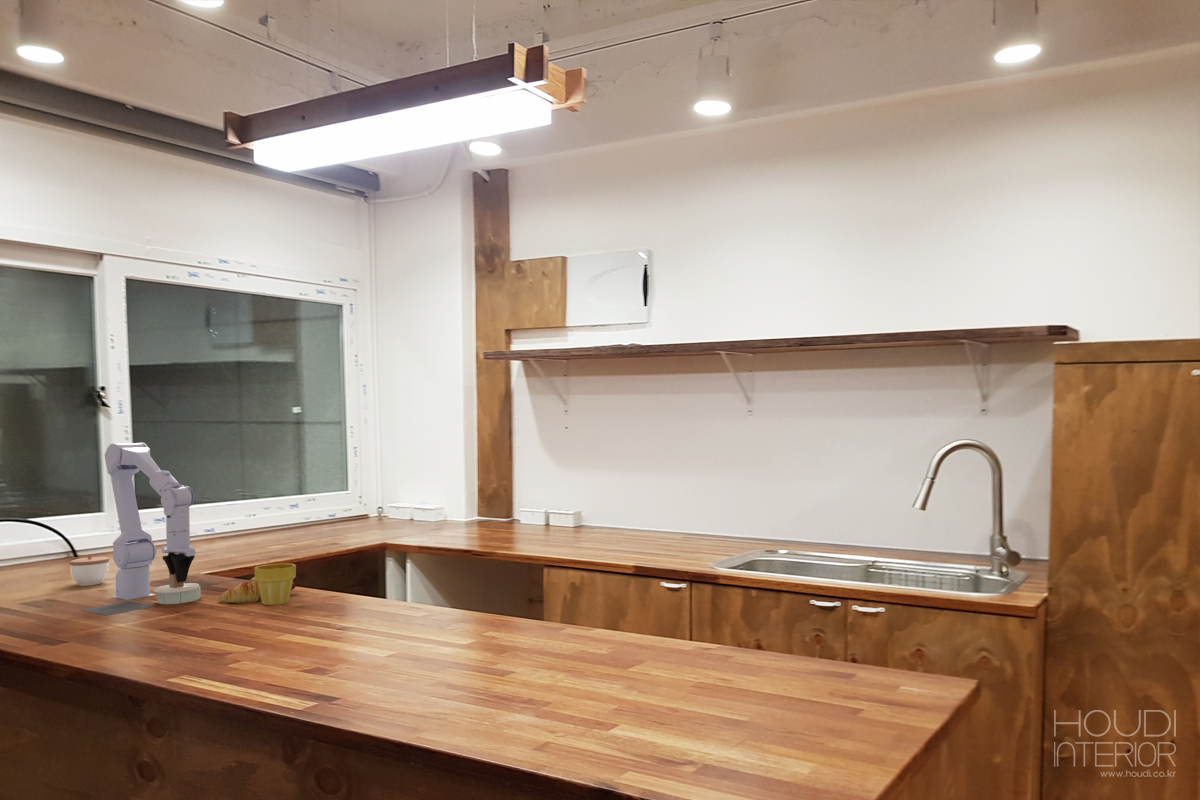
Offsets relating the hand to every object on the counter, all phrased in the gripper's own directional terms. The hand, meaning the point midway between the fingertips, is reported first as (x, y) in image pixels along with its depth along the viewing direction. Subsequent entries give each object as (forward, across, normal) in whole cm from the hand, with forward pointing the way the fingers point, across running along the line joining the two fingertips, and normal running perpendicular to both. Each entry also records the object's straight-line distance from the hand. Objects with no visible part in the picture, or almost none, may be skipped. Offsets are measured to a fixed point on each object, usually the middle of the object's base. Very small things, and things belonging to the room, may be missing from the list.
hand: (178, 581), depth 232 cm
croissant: (+6, +15, +14) cm, 22 cm away
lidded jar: (+6, -59, +1) cm, 59 cm away
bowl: (+6, 0, 0) cm, 6 cm away
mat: (+6, -4, -14) cm, 16 cm away
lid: (+2, 0, -1) cm, 2 cm away
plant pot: (+6, +26, +13) cm, 30 cm away
